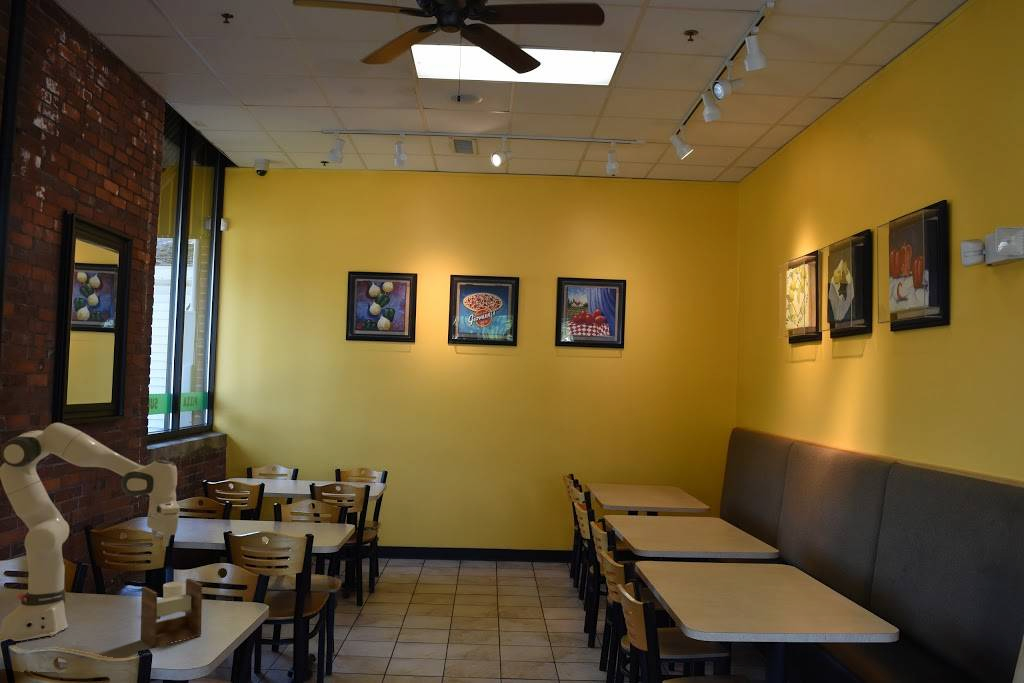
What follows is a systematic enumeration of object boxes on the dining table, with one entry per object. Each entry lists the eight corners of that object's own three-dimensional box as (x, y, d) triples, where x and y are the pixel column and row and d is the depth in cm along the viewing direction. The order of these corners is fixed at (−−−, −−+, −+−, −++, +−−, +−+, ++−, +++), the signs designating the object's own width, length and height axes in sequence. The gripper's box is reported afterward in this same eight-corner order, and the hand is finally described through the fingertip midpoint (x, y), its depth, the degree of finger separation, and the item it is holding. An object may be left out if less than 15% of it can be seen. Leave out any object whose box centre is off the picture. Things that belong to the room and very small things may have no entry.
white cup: (178, 605, 300) (179, 580, 300) (188, 609, 295) (189, 583, 295) (158, 610, 294) (159, 584, 294) (168, 614, 289) (169, 588, 289)
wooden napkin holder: (152, 648, 253) (153, 593, 254) (140, 640, 261) (141, 587, 261) (201, 636, 264) (202, 584, 265) (188, 628, 272) (189, 578, 273)
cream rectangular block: (155, 617, 257) (155, 603, 257) (151, 614, 260) (151, 601, 260) (191, 609, 266) (191, 596, 266) (186, 607, 268) (186, 594, 269)
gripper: (143, 502, 279) (141, 540, 278) (163, 510, 264) (161, 550, 263) (161, 500, 283) (159, 537, 282) (181, 508, 268) (179, 547, 268)
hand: (160, 543), depth 273 cm, fingers open, 8 cm apart
